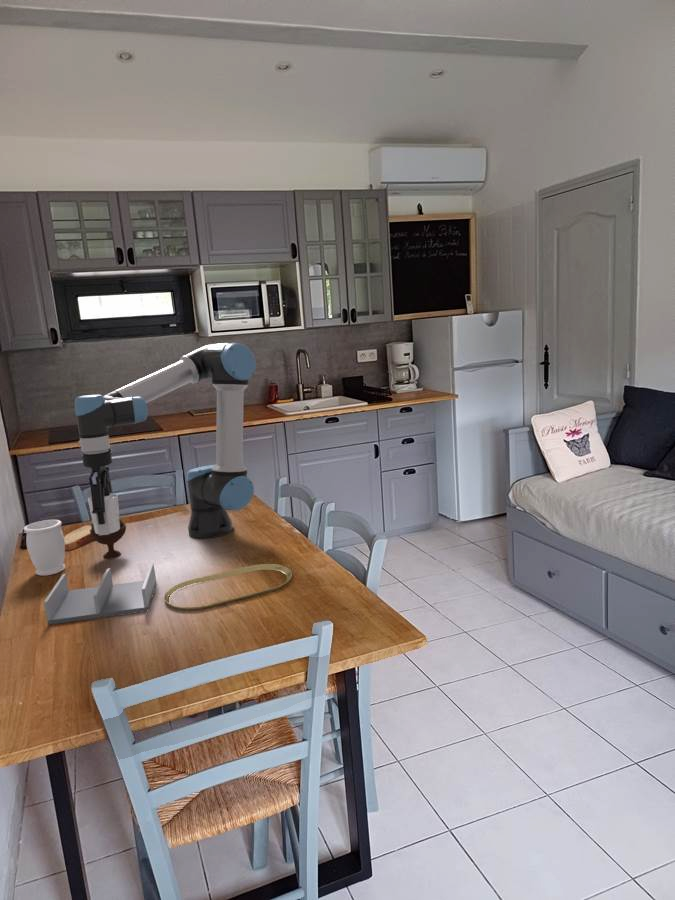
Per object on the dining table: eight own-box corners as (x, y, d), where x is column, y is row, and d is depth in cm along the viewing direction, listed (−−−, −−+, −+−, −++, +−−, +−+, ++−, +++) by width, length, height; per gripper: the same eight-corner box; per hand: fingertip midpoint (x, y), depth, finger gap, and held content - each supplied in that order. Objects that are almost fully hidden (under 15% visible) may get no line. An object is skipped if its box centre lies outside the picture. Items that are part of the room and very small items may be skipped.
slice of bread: (60, 553, 210) (58, 543, 209) (55, 538, 225) (53, 528, 225) (115, 541, 218) (114, 531, 217) (107, 527, 234) (105, 518, 233)
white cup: (97, 527, 182) (92, 494, 180) (125, 525, 183) (120, 492, 181) (89, 536, 175) (83, 501, 173) (117, 534, 175) (113, 499, 173)
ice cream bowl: (135, 548, 208) (128, 505, 205) (120, 561, 197) (113, 516, 194) (104, 549, 209) (97, 506, 206) (88, 562, 198) (80, 517, 195)
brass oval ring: (302, 586, 170) (302, 580, 170) (172, 619, 156) (171, 613, 156) (279, 564, 187) (278, 559, 187) (159, 592, 173) (158, 587, 173)
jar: (76, 565, 197) (68, 519, 194) (51, 578, 187) (43, 531, 184) (49, 563, 200) (41, 518, 197) (24, 576, 191) (15, 529, 188)
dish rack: (156, 583, 178) (153, 562, 177) (148, 611, 161) (144, 588, 160) (66, 594, 175) (62, 574, 174) (48, 624, 158) (43, 601, 156)
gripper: (90, 445, 183) (101, 520, 188) (72, 459, 164) (84, 543, 168) (117, 443, 184) (127, 518, 189) (102, 457, 165) (113, 540, 169)
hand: (107, 529), depth 179 cm, fingers closed on white cup, 7 cm apart
